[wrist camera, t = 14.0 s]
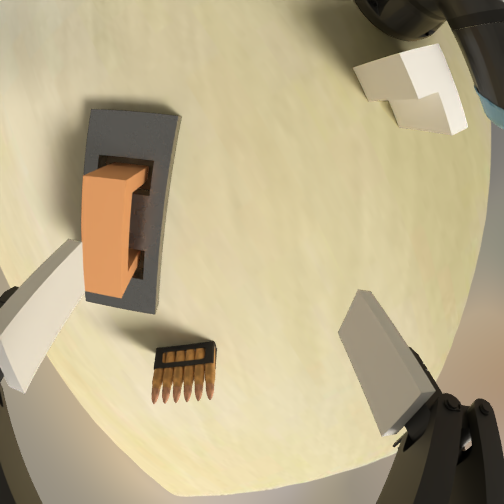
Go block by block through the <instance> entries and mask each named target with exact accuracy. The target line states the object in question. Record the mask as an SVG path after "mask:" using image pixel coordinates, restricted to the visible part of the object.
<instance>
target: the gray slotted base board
mask: <svg viewBox="0 0 504 504" xmlns="http://www.w3.org/2000/svg"><path fill="white" fill-rule="evenodd" d="M181 118H182V117H180V116H173V115H165V114H156V113H145V112H134V111H119V110H99V109H91V115H90V121H89V128H88V136H87V144H86V153H85V164H84V175H86V174H88V173H90V172H92V171H95V170H97V169H99V168H102V167H104V166H106V159H107V155H108V156H118V157H127V158H136V159H145V160H153V161H154V165H153V173H152V180H151V188H150V190H145V189H136V190H135V191H134V192H133V193H132V201H131V214H130V228H129V248H131V249H137V250H143V251H145V254H144V269H140V268H136V270H135V272H134V274H133V276H132V278H131V280H130V282H129V284H128V286H127V288H126V290H125V292H124V294H123V296H122V298H117V297H112V296H107V295H102V294H97V293H92V292H87V291H85V297H86V301H88V302H92V303H97V304H102V305H106V306H111V307H116V308H122V309H127V310H132V311H137V312H143V313H149V314H156V310H157V307H158V303H159V286H160V272H161V260H162V249H163V239H164V229H165V220H166V212H167V204H168V197H169V189H170V182H171V176H172V169H173V163H174V157H175V151H176V145H177V139H178V134H179V129H180V124H181Z"/></svg>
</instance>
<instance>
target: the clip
mask: <svg viewBox="0 0 504 504" xmlns="http://www.w3.org/2000/svg"><path fill="white" fill-rule="evenodd" d="M148 170H149V166H144V165H136V164H127V163H118V162H114V163H111V164H109V165H106V166H104V167H102V168H99V169H97V170H95V171H92V172H90V173H88V174H86V175H83V185H82V214H81V234H82V250H83V271H84V285H85V291H87V292H92V293H97V294H102V295H107V296H112V297H117V298H122V296H123V294H124V292H125V290H126V288H127V286H128V284H129V282H130V280H131V278H132V276H133V274H134V272H135V270H136V268H137V266H138V264H139V262H140V255H141V250H137V249H131V248H129V228H130V214H131V201H132V193H133V192H134V191H135V190H136V189H138V188H139V187H140V186H141V185H142V184H144V183H145V182H146V181H147V178H148Z"/></svg>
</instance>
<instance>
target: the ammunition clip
mask: <svg viewBox="0 0 504 504" xmlns="http://www.w3.org/2000/svg"><path fill="white" fill-rule="evenodd" d="M216 353H217V348H216V345H215V342H214V341H212V342H204V343H197V344H189V345H181V346H172V347H163V348H157V349H156V356H155V362H154V376H153V381H152V384H153V386H152V402H153V404H155V403H156V401H157V399H158V396H159V392H160V388H161V385H162V381H163V390H162V398H163V402H164V403H166V402H167V400H168V398H169V394H170V389H171V385H172V382H173V398H174V401H175V403H177V401H178V399H179V397H180V393H181V387H182V383H183V381H184V397H185V400H186V402H188V401H189V399H190V396H191V391H192V384H193V381H195V395H196V399H197V400H198V401H199V400H200V399H201V396H202V391H203V382H204V375H205V381H206V392H207V396H208V398H209V400H211V398H212V396H213V392H214V381H215V369H216ZM173 375H174V376H173Z"/></svg>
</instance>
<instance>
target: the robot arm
mask: <svg viewBox="0 0 504 504" xmlns="http://www.w3.org/2000/svg"><path fill="white" fill-rule="evenodd" d="M355 1H356V3H357V5H358V7H359V8H360V10H361V11H362V12H363V14H364V15H365V16H366V17H367V18H368V19H369V20H370V21H371V22H372V23H373V24H374V25H375V26H376V27H378V28H379V29H380V30H382V31H383V32H385V33H387V34H388V35H390V36H392V37H395V38H397V39H400V40H405V41H417V40H420V39H424V38H427V37H429V36H431V35H432V34H433V33H434V32H435V31H436V30H437V29H438V28H439V27H440V26H441V25H442V24H443V23H444V22H445V21H446V20H447V22H448V24H449V26H450V27H451V29H452V32H453V34H454V36H455V38H456V40H457V42H458V45H459V47H460V49H461V51H462V54H463V56H464V58H465V61H466V63H467V66H468V68H469V71H470V74H471V76H472V79H473V82H474V88H475V91H476V92H477V94H478V95H479V97H480V100H481V103H482V106H483V109H484V111H485V113H486V115H487V117H488V118H489V119H490V120H491V121H492V122H493V123H494V124H495V125H497V126H498V127H500V128H502V129H504V22H503V21H504V0H355ZM495 22H496V23H495ZM487 23H489V24H487ZM481 24H483V25H481ZM476 25H477V26H476ZM470 26H472V27H470ZM465 27H467V28H465ZM461 28H462V29H461ZM84 293H85V285H84V271H83V250H82V242H81V241H76V240H71V239H68V240H67V241H66V242H65V243H64V244H63V245H61V246H60V247H59V248H58V249H57V250H56V251H55V252H54V253H53V254H52V255H51V256H50V257H49V258H48V259H47V260H46V261H45V262H44V263H43V264H42V265H41V266H40V267H39V268H38V269H37V270H36V271H35V272H34V273H33V274H32V275H31V276H30V277H29V278H28V279H27V280H26V281H25V282H24V283H23V284H22V285H21V286H20V287H16V286H14V287H13V288H11V289H9V290H7V291H6V292H4V293H3V294H2V296H1V297H0V382H1V380H2V378H3V377H5V379H6V381H7V383H8V385H9V387H11V388H13V389H16V390H18V391H20V392H22V393H25V392H26V390H27V388H28V386H29V384H30V382H31V381H32V379H33V377H34V375H35V373H36V371H37V370H38V368H39V366H40V364H41V362H42V361H43V359H44V357H45V355H46V353H47V352H48V350H49V348H50V347H51V345H52V343H53V342H54V340H55V338H56V337H57V335H58V333H59V332H60V330H61V328H62V327H63V325H64V324H65V322H66V321H67V319H68V317H69V316H70V314H71V313H72V311H73V310H74V308H75V307H76V305H77V304H78V302H79V301H80V299H81V298H82V296H83V295H84ZM338 334H339V336H340V339H341V341H342V343H343V345H344V348H345V350H346V352H347V354H348V357H349V359H350V361H351V363H352V366H353V368H354V370H355V373H356V375H357V377H358V380H359V382H360V384H361V387H362V389H363V392H364V394H365V396H366V399H367V401H368V404H369V406H370V409H371V411H372V413H373V416H374V418H375V421H376V423H377V426H378V428H379V431H380V433H381V436H388V435H393V434H397V433H398V432H399V431H400V430H401V429H402V428H403V427H404V426H405V427H406V429H407V432H406V433H405V434H404V435H403V436H401V437H400V438H399V439H398V440H397V441H396V442H395V443H394V445H393V447H395V446H396V445H398V444H399V443H400V446H399V447H398V452H397V454H396V457H395V460H394V462H393V465H392V468H391V470H390V473H389V475H388V478H387V480H386V482H385V485H384V487H383V489H382V492H381V494H380V496H379V498H378V500H377V503H376V504H504V457H503V451H502V446H501V440H500V436H499V431H498V427H497V422H496V418H495V414H494V411H493V408H492V407H491V405H490V403H489V402H487V401H486V400H484V399H476V400H475V401H474V402H473V403H472V405H471V406H463V405H461V403H460V402H459V400H458V399H457V398H456V397H454V396H453V395H451V394H448V393H445V394H442V392H441V390H440V389H439V387H438V385H437V384H436V382H435V380H434V379H433V377H432V376H431V374H430V372H429V371H427V368H426V366H425V364H423V361H422V360H421V358H420V357H419V355H418V354H417V353H416V352H415V351H414V350H413V349H412V348H411V347H408V345H407V344H406V342H405V341H404V339H403V338H402V336H401V335H400V333H399V332H398V330H397V329H396V327H395V326H394V324H393V323H392V321H391V320H390V318H389V317H388V315H387V314H386V312H385V311H384V310H383V308H382V307H381V305H380V304H379V302H378V301H377V300H376V298H375V297H374V295H373V294H372V292H371V291H365V290H359V289H358V291H357V293H356V295H355V297H354V300H353V302H352V304H351V306H350V308H349V310H348V313H347V315H346V317H345V319H344V321H343V323H342V325H341V327H340V329H339V331H338ZM469 441H472V446H471V447H470V448H469V449H467V450H466V451H465V447H464V446H465V445H466V444H467V443H468V442H469ZM0 504H42V502H41V500H40V498H39V496H38V493H37V491H36V489H35V487H34V485H33V482H32V481H31V478H30V475H29V473H28V471H27V468H26V466H25V463H24V460H23V458H22V455H21V452H20V450H19V447H18V444H17V441H16V438H15V434H14V431H13V428H12V424H11V421H10V417H9V413H8V410H7V405H6V401H5V398H4V392H3V388H2V386H1V384H0Z"/></svg>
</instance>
